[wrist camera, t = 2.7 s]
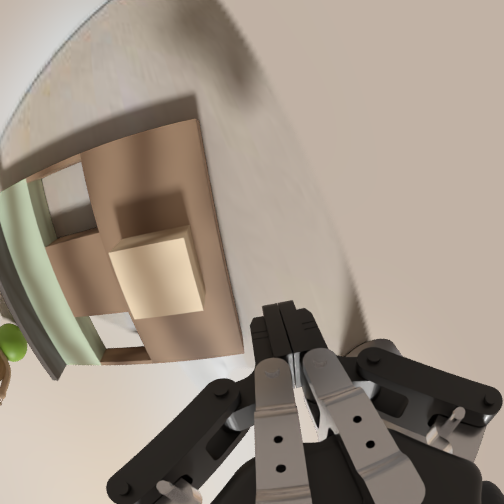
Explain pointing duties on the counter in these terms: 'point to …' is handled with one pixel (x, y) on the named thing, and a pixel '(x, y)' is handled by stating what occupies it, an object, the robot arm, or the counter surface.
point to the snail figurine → (10, 353)
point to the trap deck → (103, 241)
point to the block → (159, 273)
